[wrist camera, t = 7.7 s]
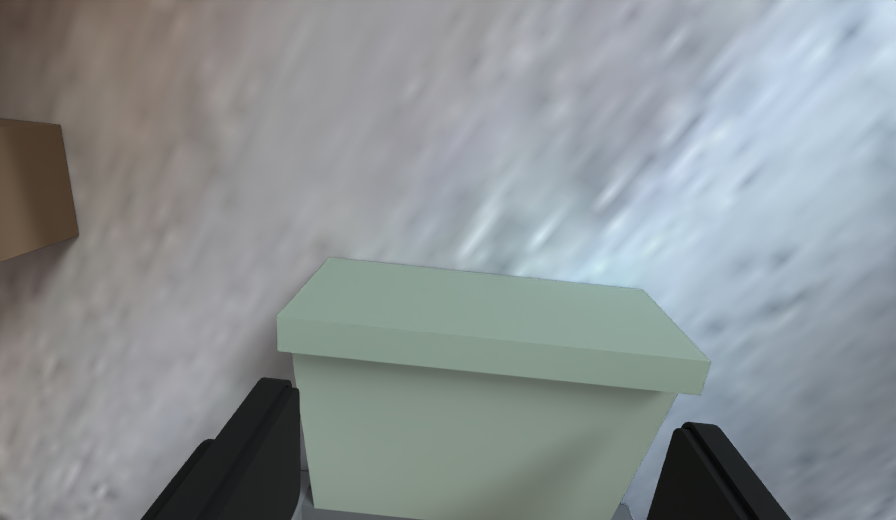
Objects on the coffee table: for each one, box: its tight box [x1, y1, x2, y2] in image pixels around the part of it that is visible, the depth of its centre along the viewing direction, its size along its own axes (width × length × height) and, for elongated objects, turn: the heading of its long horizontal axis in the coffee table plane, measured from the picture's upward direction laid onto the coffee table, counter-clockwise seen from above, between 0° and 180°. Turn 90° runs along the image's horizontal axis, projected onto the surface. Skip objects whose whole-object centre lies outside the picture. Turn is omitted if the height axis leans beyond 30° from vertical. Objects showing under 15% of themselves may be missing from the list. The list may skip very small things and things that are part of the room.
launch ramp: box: [277, 257, 711, 520], centre depth 12 cm, size 9×8×4 cm
